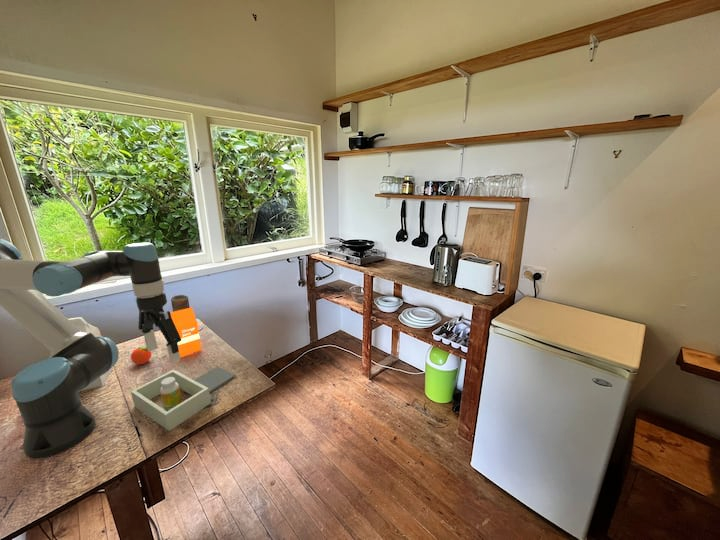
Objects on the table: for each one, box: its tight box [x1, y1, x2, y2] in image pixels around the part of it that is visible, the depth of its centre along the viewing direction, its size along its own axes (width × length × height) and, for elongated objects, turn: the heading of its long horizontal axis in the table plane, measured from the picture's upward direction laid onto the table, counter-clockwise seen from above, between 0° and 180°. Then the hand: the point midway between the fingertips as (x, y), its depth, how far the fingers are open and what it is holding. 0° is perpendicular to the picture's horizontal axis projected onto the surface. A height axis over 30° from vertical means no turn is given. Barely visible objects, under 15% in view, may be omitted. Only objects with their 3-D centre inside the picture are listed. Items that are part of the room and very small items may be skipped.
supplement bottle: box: [160, 377, 183, 411], centre depth 100 cm, size 5×5×10 cm
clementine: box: [130, 346, 152, 365], centre depth 124 cm, size 8×7×7 cm
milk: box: [68, 316, 114, 391], centre depth 110 cm, size 12×12×26 cm
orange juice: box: [170, 307, 202, 358], centre depth 131 cm, size 8×9×20 cm
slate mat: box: [193, 366, 236, 393], centre depth 114 cm, size 11×11×1 cm
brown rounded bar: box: [170, 294, 191, 312], centre depth 146 cm, size 8×7×20 cm
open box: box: [130, 369, 212, 432], centre depth 100 cm, size 14×21×6 cm, turn 60°
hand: (163, 355), depth 96 cm, fingers open, 13 cm apart
